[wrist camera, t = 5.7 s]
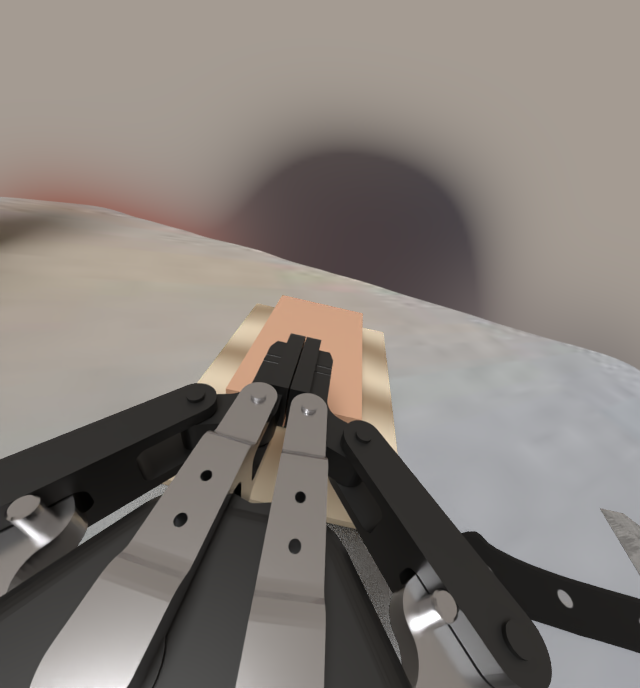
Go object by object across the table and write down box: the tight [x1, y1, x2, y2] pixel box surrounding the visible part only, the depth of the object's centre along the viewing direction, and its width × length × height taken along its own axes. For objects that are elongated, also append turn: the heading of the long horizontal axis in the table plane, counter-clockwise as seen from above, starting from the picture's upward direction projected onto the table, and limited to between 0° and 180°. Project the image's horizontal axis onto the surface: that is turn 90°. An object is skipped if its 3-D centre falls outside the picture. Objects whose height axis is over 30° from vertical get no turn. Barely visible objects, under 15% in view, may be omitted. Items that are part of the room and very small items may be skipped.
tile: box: [226, 295, 363, 427], centre depth 21 cm, size 2×8×13 cm
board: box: [162, 304, 397, 529], centre depth 21 cm, size 19×14×1 cm
